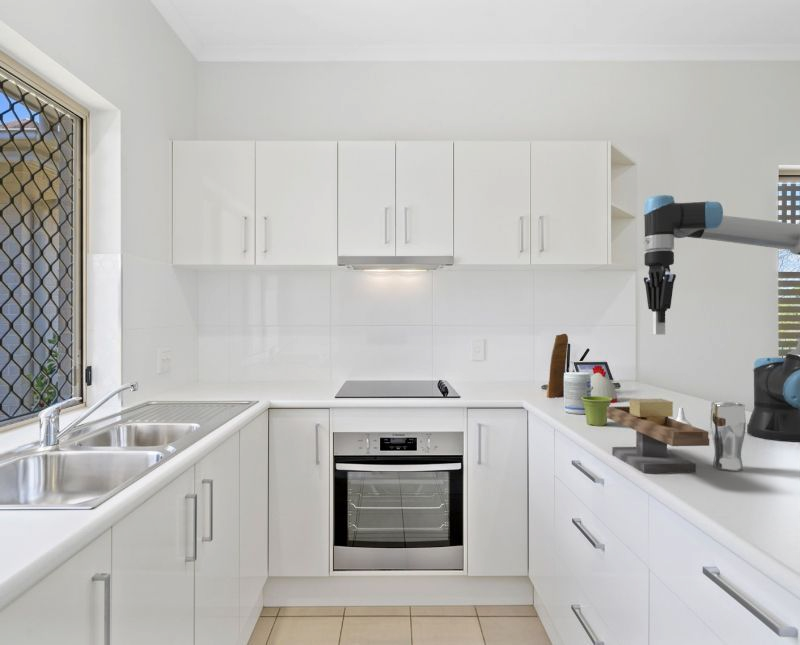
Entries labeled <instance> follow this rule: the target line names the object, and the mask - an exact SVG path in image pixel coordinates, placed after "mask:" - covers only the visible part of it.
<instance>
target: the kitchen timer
mask: <svg viewBox="0 0 800 645" xmlns="http://www.w3.org/2000/svg"><path fill="white" fill-rule="evenodd" d="M592 371H593V372H592V373H593V374H592V375H590V377H591V396H601V397H608V398H611V399H612V400H611V402H610V404H613V403H617V402H618V394H617V391H616V385H615V384H614V383H613V382H612V379H610V378H609V376H608V375H607V371H605V368H603V367H602V365H599V364H598V365H594V367H592Z"/></svg>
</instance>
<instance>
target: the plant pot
mask: <svg viewBox="0 0 800 645" xmlns="http://www.w3.org/2000/svg"><path fill="white" fill-rule="evenodd" d="M581 399H582V400H583V403H584V407H585V414H584V415H585V420H586V425H588V426H591V425H593V426H595V427H603V426H606V425H607V424H608V423H607V422H608V418H606V412H607V407H610V406H611V403H610V402H611V400H612V399H611V398H608V397H601V396H585V397H582V398H581Z"/></svg>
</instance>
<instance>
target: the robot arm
mask: <svg viewBox="0 0 800 645" xmlns="http://www.w3.org/2000/svg"><path fill="white" fill-rule="evenodd" d="M643 214H644V215H643V216H644V240H643V244H644V251H645V253H644V265H645V267H648V268H649V269H648V272H647V273H648V275H647V277H643V283H644V285H645V291H646V292H645V293H646V301H647V302H646V303H647V308H648V310H650V311H651V312H652V332H653V333H652V334H653V335H659V336H660V335H666V312H667V310H669V309H671V307H672V299H673V291H674V283H675V280H676V277H677V275H676V273H671V268H670V266H672V265H674V264H675V252H674V251H672V250H674V249H675V239H684V238H692V239H702V240H710V241H718V242H726V243H734V244H739V245H741V244H742V245H747V246H749V245H750V246H756V247H764V248H766V247H767V248H773V249H780V250H789V252H790V253H791V255H792V254H793V255H799V256H800V221H799V222H798V223H792V222H784V221H774V220H766V219H757V218H748V217H740V216H739V217H738V216H731V215H724V209H723V206H722V204H721V202H719V201H709V200H705V201H697V202H696V201H695V202H694V201H693V202H675V198H674V196H672V195H670V194H669V195H668V194H667V195H666V194H662V195H654V196H650V197H648V198H647V199H646V200H645V202H644V212H643ZM753 364H754V365H753V369H752V372H753V410H752V412H751V414H750V418H749V421H748V423H747V425H746V433H747V434H748V435H750V436H754V437H756V438H762V439H767V440H774V441H785V442H800V338H798V342H797V346H796V347H795V349H793V350H791V351H788V352H787V353H786V355H785V357H781V356H780V357H778V356H777V357H761V358H757V359H755V360H754V363H753Z"/></svg>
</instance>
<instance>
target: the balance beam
mask: <svg viewBox="0 0 800 645" xmlns="http://www.w3.org/2000/svg"><path fill="white" fill-rule="evenodd" d="M606 418H607V420H608V419H609V420H610V421H614V422H616V423H618V424H620V425H622V426H625V427H627V428H630V429H632V430H634V431H635V432H636V433H635V436H636V437H635V440H636V442H635V444H636V446H611V447H612V449H611V450H612V453H611V454H612V456H613V457H616V458H617V459H619V460H620V461H623V462H624V463H626V464H627V465H629V466H631V467H633V468H634V469H636V470H637V471H639V472H641V473H643V474H661V473H662V472H679V473H696V472H697V470H696V469H697V468H696V466H697V465H696V464H697V463H696V462H694V461H691V460H689V459H687V458H685V457H682V456H681V455H679V454H676V453H674V452H672V451H669V450H668V446H671V447H706V446H707V447H709V446H710V437H709V430H704V429H702V428H699V427H696V426H693V425H692V424H691V425H692V426H691V425H688V424H685V423H682V422H679V421H676V419H672V418H671V417H665V425H659V424H656V423H654V422H651V421H648V420H646V419H643V418H642V417H638V416H636V415H633V414H630V405H628V406H609V407H607V412H606Z"/></svg>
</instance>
